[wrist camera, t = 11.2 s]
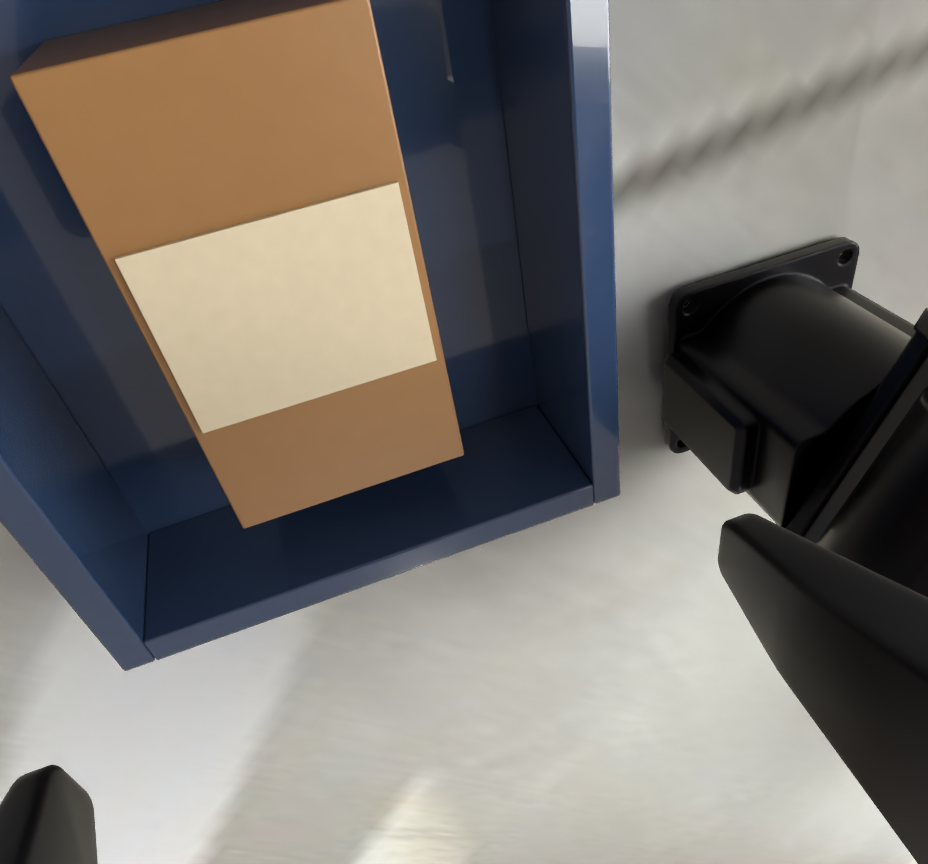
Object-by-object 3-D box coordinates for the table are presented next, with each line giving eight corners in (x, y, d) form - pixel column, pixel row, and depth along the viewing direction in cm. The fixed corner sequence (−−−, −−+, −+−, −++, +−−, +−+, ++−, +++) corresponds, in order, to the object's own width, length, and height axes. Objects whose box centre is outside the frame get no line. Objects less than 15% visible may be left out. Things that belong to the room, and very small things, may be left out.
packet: (332, -25, 14) (370, -7, 11) (427, 383, 20) (466, 458, 18) (42, 40, 13) (6, 77, 10) (234, 444, 20) (243, 533, 17)
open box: (491, -249, 13) (603, -303, 10) (554, 405, 23) (621, 496, 20) (-304, -101, 11) (-522, -103, 8) (133, 545, 21) (124, 673, 18)
